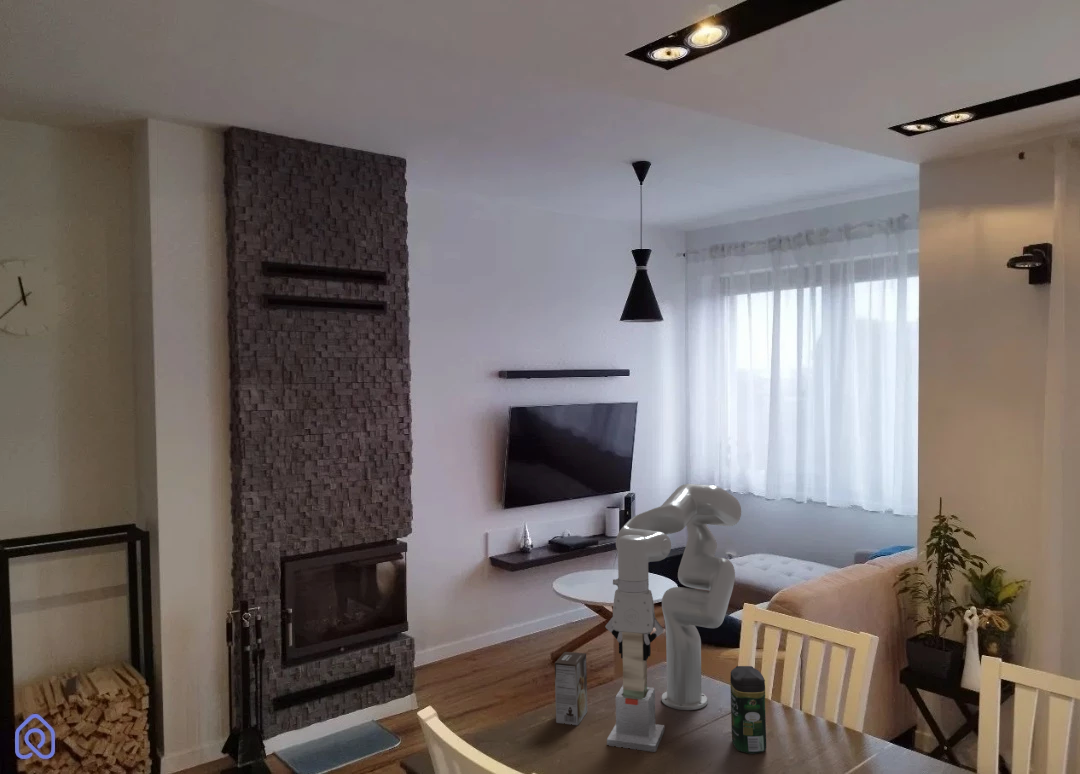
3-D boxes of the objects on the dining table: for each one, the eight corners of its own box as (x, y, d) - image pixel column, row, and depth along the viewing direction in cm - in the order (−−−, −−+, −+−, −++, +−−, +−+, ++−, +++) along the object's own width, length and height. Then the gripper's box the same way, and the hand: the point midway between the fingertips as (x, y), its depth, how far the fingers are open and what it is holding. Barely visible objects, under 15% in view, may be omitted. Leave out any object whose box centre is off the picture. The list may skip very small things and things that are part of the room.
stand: (618, 725, 202) (617, 681, 202) (664, 731, 198) (663, 686, 198) (606, 745, 191) (606, 698, 191) (655, 752, 187) (654, 704, 187)
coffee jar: (728, 736, 194) (727, 662, 194) (760, 737, 194) (759, 662, 194) (735, 755, 185) (734, 677, 185) (769, 755, 184) (768, 677, 184)
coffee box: (565, 709, 213) (564, 650, 213) (588, 712, 211) (586, 652, 211) (555, 723, 204) (554, 662, 204) (578, 726, 202) (577, 664, 202)
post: (628, 699, 198) (626, 621, 198) (647, 701, 196) (646, 622, 196) (623, 707, 193) (622, 627, 193) (643, 709, 191) (642, 628, 191)
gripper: (596, 586, 194) (598, 659, 194) (664, 591, 188) (666, 666, 188) (604, 579, 201) (605, 649, 201) (670, 583, 195) (671, 656, 195)
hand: (634, 657), depth 195 cm, fingers closed on post, 5 cm apart
